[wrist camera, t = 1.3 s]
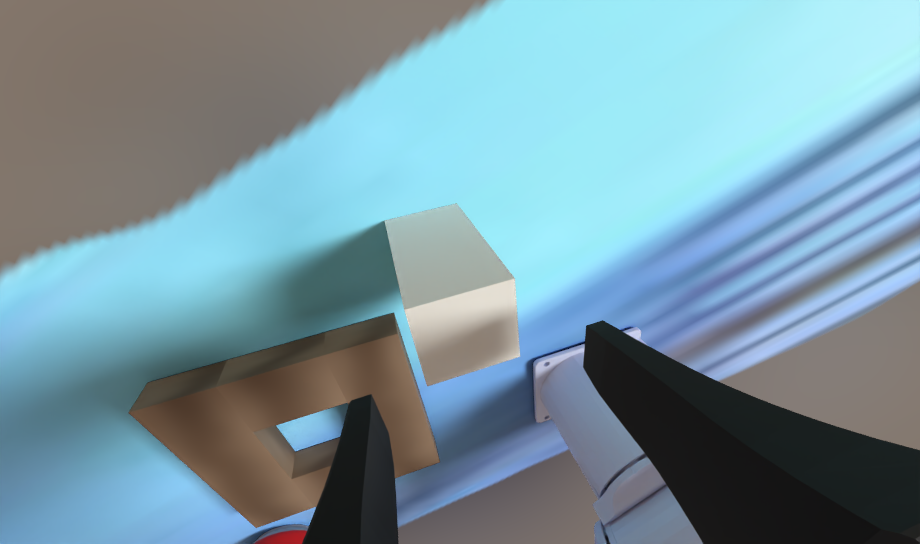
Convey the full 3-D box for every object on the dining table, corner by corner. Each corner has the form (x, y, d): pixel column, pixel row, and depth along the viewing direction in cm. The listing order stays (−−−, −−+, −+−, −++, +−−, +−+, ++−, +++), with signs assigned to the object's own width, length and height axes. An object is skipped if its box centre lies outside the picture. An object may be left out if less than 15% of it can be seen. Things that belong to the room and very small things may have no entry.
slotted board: (393, 312, 21) (397, 333, 20) (434, 439, 29) (440, 462, 27) (147, 382, 19) (128, 412, 17) (261, 499, 27) (256, 528, 25)
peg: (456, 203, 19) (514, 278, 12) (466, 264, 21) (520, 356, 14) (384, 220, 18) (404, 309, 12) (402, 281, 20) (427, 386, 14)
